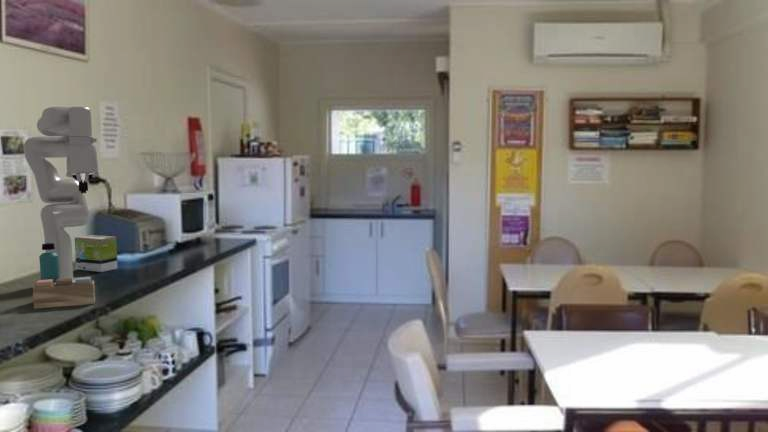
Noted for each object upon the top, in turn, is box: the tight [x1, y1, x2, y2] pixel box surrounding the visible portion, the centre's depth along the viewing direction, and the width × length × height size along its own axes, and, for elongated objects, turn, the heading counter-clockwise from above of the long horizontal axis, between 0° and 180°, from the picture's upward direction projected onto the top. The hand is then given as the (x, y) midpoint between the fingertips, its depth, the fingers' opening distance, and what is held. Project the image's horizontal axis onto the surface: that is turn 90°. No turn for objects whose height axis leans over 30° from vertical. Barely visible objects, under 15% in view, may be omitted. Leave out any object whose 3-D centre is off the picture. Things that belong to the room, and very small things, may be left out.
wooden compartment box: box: [32, 280, 96, 309], centre depth 240 cm, size 7×19×7 cm, turn 109°
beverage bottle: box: [39, 242, 60, 283], centre depth 248 cm, size 6×7×20 cm
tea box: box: [74, 234, 118, 273], centre depth 310 cm, size 15×10×15 cm, turn 68°
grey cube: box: [75, 276, 92, 285], centre depth 242 cm, size 5×5×5 cm
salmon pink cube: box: [35, 279, 53, 287], centre depth 238 cm, size 5×5×5 cm
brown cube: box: [56, 278, 72, 286], centre depth 240 cm, size 5×5×5 cm
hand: (83, 193), depth 252 cm, fingers closed
